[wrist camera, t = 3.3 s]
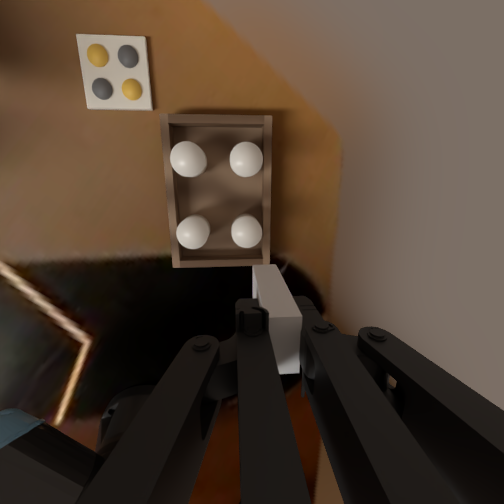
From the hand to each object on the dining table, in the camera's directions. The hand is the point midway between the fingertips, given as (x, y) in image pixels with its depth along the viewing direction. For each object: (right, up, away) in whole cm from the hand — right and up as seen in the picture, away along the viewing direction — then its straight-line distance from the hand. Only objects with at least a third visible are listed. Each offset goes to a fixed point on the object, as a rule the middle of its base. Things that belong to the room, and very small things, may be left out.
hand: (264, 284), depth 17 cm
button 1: (-2, +6, +21) cm, 21 cm away
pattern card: (-18, +25, +16) cm, 34 cm away
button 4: (-9, +14, +18) cm, 24 cm away
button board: (-5, +10, +21) cm, 24 cm away
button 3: (-9, +5, +20) cm, 23 cm away
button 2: (-2, +14, +18) cm, 23 cm away
